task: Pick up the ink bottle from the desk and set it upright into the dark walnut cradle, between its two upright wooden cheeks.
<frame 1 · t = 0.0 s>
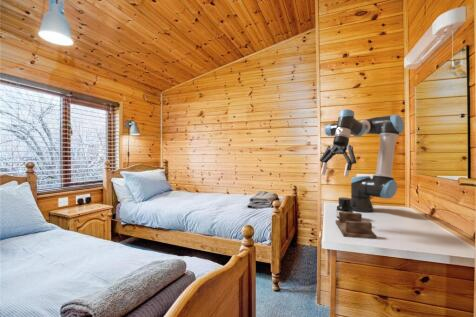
hand: (333, 175, 123), 28 cm above the table, tool tilted 20°, fingers open, 13 cm apart
ink bottle: (344, 218, 142), on the table
cradle: (353, 229, 120), on the table
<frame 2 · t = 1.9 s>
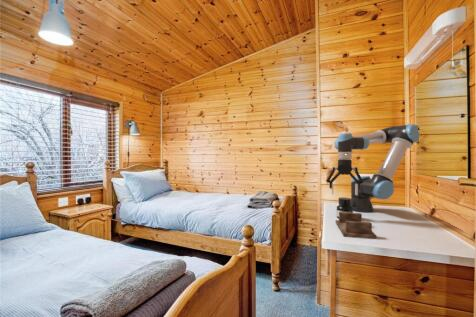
hand: (344, 194, 141), 14 cm above the table, tool pointing down, fingers open, 13 cm apart
nothing on the table moved.
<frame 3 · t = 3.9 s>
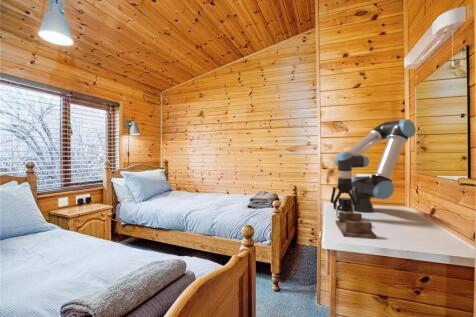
hand: (344, 214, 142), 2 cm above the table, tool pointing down, fingers closed on ink bottle, 9 cm apart
ink bottle: (344, 218, 142), on the table, touching gripper
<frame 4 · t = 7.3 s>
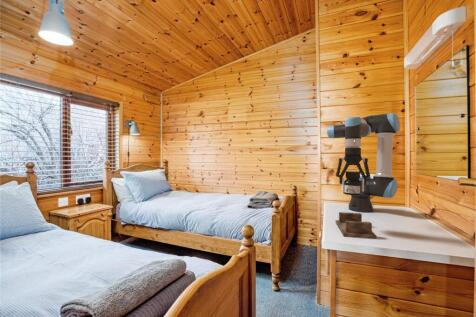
hand: (352, 190, 122), 20 cm above the table, tool pointing down, fingers closed on ink bottle, 9 cm apart
ink bottle: (352, 194, 122), point 18 cm above the table, touching gripper
when the fingers open (5 cm above the table, at t = 10.6 s): ink bottle drops 2 cm, resting on cradle.
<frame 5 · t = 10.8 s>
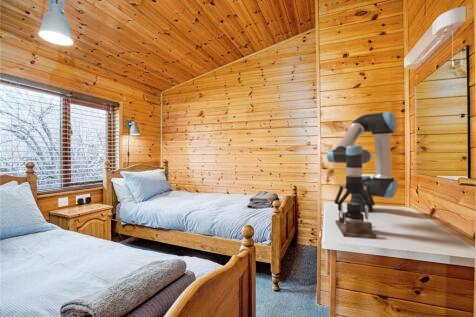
hand: (353, 218, 120), 6 cm above the table, tool pointing down, fingers open, 11 cm apart
ink bottle: (353, 227, 120), point 1 cm above the table, touching cradle
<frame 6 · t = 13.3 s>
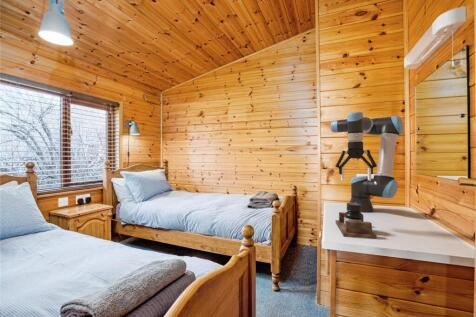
hand: (355, 180, 127), 25 cm above the table, tool pointing down, fingers open, 13 cm apart
nothing on the table moved.
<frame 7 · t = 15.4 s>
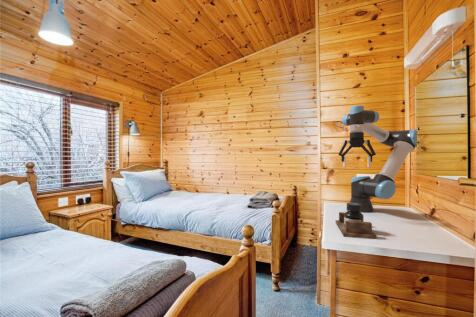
hand: (356, 167, 141), 31 cm above the table, tool pointing down, fingers open, 13 cm apart
nothing on the table moved.
at the end: ink bottle inside the target area on the cradle (0.0 cm from its centre), point 1.3 cm above the cradle's base; ink bottle tilted 0°; the gripper is holding nothing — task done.
